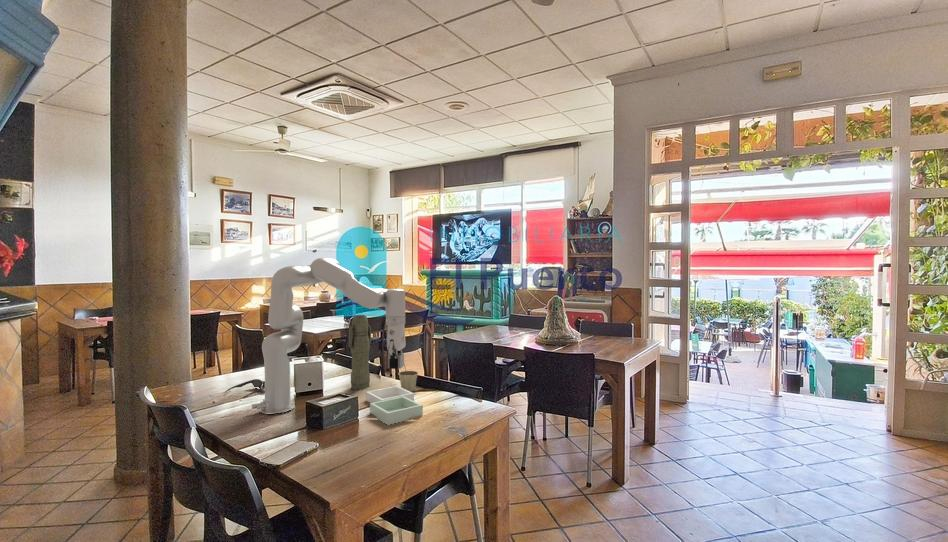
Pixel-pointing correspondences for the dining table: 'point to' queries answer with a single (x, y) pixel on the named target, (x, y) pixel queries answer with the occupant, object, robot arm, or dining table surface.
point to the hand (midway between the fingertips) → (395, 366)
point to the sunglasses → (255, 383)
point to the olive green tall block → (360, 351)
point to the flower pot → (408, 380)
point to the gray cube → (399, 360)
